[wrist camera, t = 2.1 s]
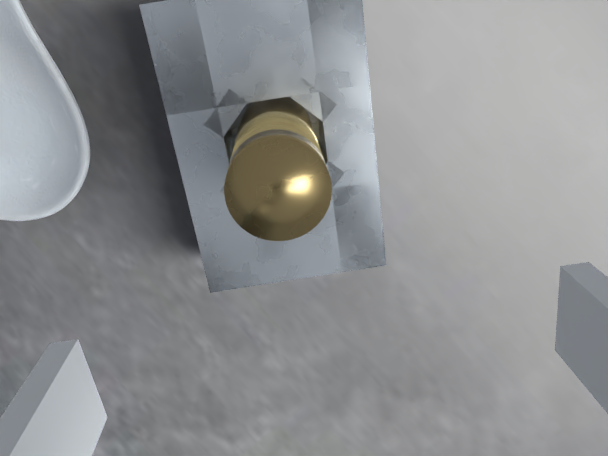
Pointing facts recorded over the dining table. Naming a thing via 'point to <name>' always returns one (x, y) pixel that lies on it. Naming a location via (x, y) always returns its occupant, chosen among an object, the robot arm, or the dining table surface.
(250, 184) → the gold capped cylinder
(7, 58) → the spoon rest
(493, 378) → the dining table surface
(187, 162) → the bore housing
